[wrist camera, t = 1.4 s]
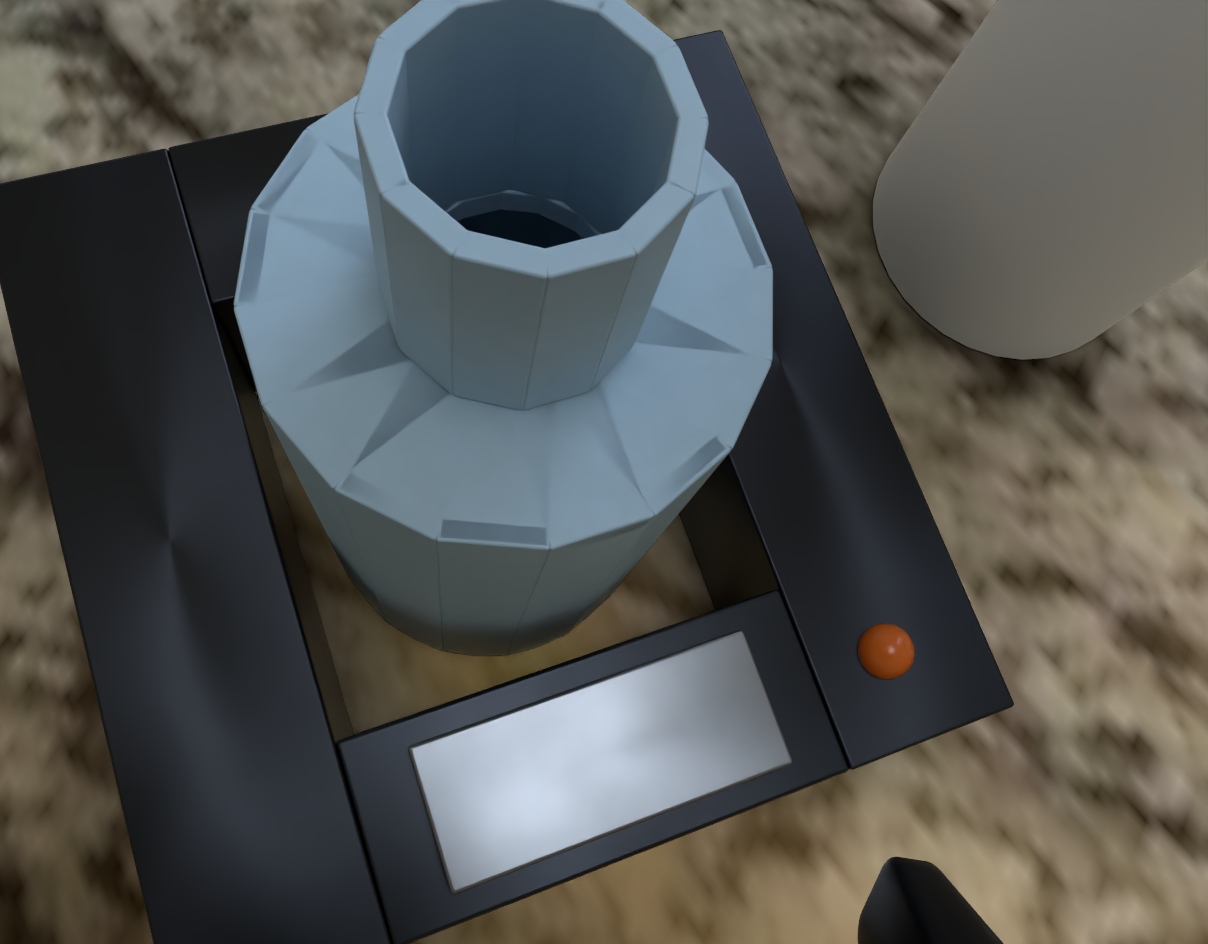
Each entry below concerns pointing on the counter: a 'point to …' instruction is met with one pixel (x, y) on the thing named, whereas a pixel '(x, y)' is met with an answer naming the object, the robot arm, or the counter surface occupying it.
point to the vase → (505, 314)
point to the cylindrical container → (1053, 174)
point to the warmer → (489, 717)
